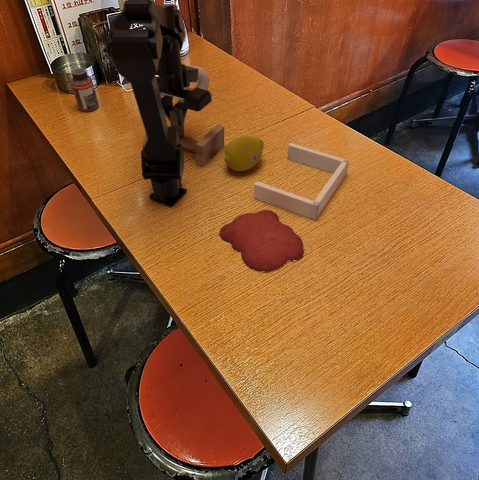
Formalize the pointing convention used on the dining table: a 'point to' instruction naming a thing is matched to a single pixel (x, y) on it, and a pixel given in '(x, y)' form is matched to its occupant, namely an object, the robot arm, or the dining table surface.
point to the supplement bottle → (84, 90)
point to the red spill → (263, 240)
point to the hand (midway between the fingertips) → (177, 123)
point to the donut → (201, 79)
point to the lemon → (243, 153)
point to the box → (298, 202)
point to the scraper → (204, 146)
